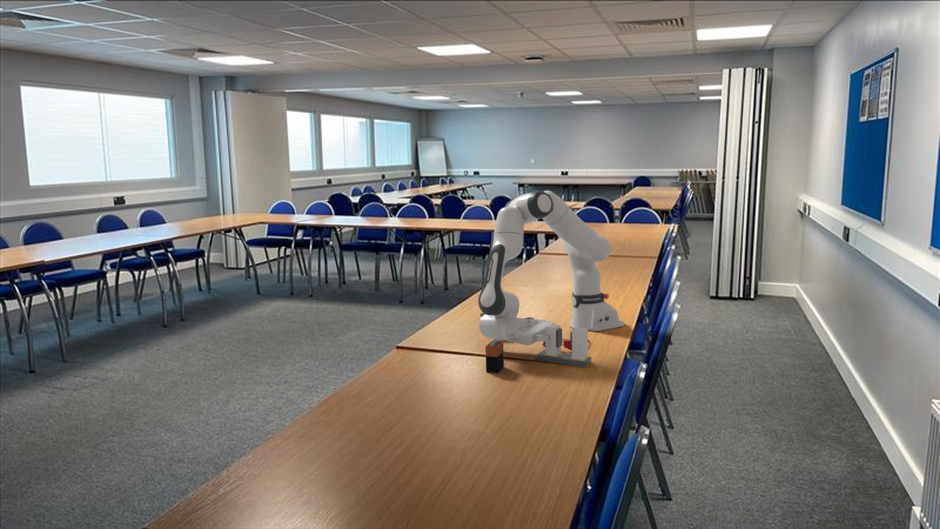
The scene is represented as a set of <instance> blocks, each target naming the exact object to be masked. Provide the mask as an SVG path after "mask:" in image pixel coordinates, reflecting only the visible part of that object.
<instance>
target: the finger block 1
mask: <svg viewBox="0 0 940 529" xmlns="http://www.w3.org/2000/svg"><path fill="white" fill-rule="evenodd" d="M554 324H555V323H554ZM554 324H549V325H547V326H545V335H549V336H550V340H549V341H548V342H547V341H545V347H544V348H545V354H546V355H553V356H557V355H558V354H560V353H561V352H562V351H561V350H562V346H563V340H562V339H563V328H562V327H561V325H560V324H555V325H554Z"/></svg>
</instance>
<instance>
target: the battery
mask: <svg viewBox="0 0 940 529" xmlns="http://www.w3.org/2000/svg"><path fill="white" fill-rule="evenodd" d="M484 349H485V371H486V372H487V373H492V372H493V374H494V373H495V374H498V373H499V372H500V371H501V370H502V369H503V368H504V367H505V360H504V359H505V357H504V342H503V341H502V340H498V339H492V340H491V341H490V342H489V343H488V344H487V345H485V348H484Z"/></svg>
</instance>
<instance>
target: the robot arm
mask: <svg viewBox="0 0 940 529" xmlns="http://www.w3.org/2000/svg"><path fill="white" fill-rule="evenodd" d="M538 220H543V222H544V223H545V224H546V225H547V226H548V227H549V228H550V229H551V230H552V231H553V232H554V234H556V236H558V238H560V239H561V240H563V248H564V251H565V253H566V254H567V255H568V260H569V262H570V267H571V271H572V285H573V286H572V288H573V291H572V293H571V294H572V297H571V301H572V303H571V304H572V312H571V313H572V314H571V319H570V323H569V327H570V328H572V329H575V328H576V327H579V328H587V329H588V331H590V332H591V331H592V332H600V331H605V330H612V329H616V328H619V327H620V328H621V327H624V326H625V322H623V320H621V319H620V318H619V312H618V311H617V309H616V308H614V307H613V306H612V305H611V304H609V303H608V302H606V301H605V299H606V300H608V299H609V298H610V295H609V294H608V293H603V292H601V273H600V271H599V269H598V268H597V265H596V262H602V261H605V260H607V259H608V258H609V256H610V254H611V251H612V248H611V243H610V241H609V240H608V239H607V238H605V237H604V236H602V235H601V234H600V233H598V232H597V231H596V230H595V229H594V228H593V227H591V226H590V225H589V224H587V223H586V222H585V221H583V220H582V218H580V217H579V216H578V215H577V214H576V213H575V211H573V209H571V207H570V206H569V205H568V204H567V203H566V202H565V201H564V199H562V198H561V197H560V196H558V195H557V194H556V193H555V192H553V191H551V190H544V191H543V190H535V191H532V192H528V193H524V194H523V193H522V195H519V196H517V197H516V198H511V199H510V200H509V201H508V202H506V204H505V206H504V207H501V209H499V211H498V213H497V216H496V220H495V224H494V233H493V243H492V246H491V248H490V252H489V253H488V258H487V262H486V268H485V276H484V280H483V284H482V288H481V290H480V292H479V295H478V298H477V300H478V301H477V302H478V304H477V305H478V307H479V309H480V311H481V313H484V314H485V315H483V316H482V317H481V316H480V318H479V322H478V327H479V329H478V330H479V331H480V333H481V335H482V336H484V337H485V338H487V339H491V340H493V339H498V340H499V341H507V342H510V343H515V344H518V345H519V344H520V345H522V346H523V345H524V346H531V345H533V344H535V343H539V342H544V341H547V342H548V341H549V340H550V336H549V335H545V326H547V325H549V324H554V325H556V324H555V323H554V322H553V321H550V320H545V319H539V318H538V319H535V317H534V316H532V317H531V316H530V317H524V318H522V317H517V316H518V313H519V309H520V301H519V298H518V296H517V295H516V294H515V293H512V292H509V291H505V290H503V288H502V282H503V276H504V269H505V266H506V263H507V262H509V261H510V260H513V259H515V258H517V257H518V256H519V255H520V254H521V252H522V250H523V246H524V232H525V231H524V227H525V224H530V223H533V222H536V221H538Z"/></svg>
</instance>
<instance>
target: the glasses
mask: <svg viewBox="0 0 940 529" xmlns="http://www.w3.org/2000/svg"><path fill="white" fill-rule="evenodd" d="M588 342H590V340H589V339H588ZM562 344H563V348H564V349H566V350H570V351H572V349H570V340H569V339H567V338H562ZM542 346H543V347H544V348H545V341H542Z"/></svg>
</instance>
